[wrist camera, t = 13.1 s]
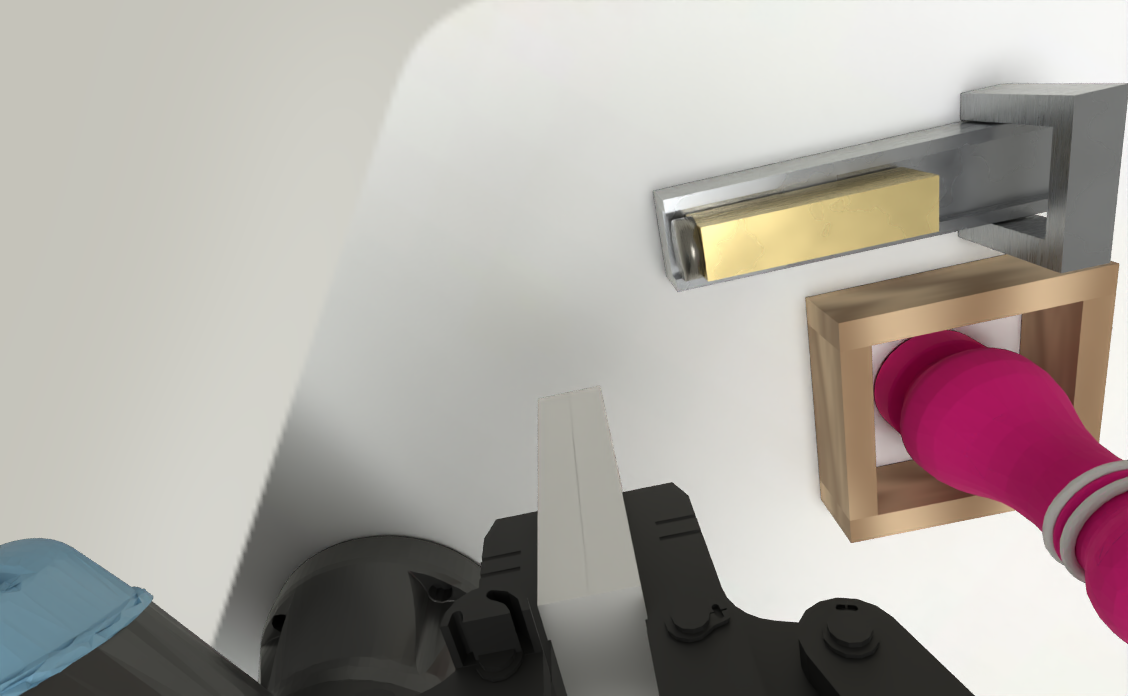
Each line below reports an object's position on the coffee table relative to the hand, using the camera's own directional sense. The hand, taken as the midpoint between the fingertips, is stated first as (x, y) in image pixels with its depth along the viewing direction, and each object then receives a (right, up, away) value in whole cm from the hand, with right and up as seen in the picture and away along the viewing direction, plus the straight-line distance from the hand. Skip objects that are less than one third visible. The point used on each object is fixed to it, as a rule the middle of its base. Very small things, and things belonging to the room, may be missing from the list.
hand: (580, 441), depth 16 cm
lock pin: (+10, +8, +15) cm, 20 cm away
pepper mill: (+20, 0, +21) cm, 29 cm away
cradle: (+20, 0, +21) cm, 29 cm away
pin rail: (+14, +10, +17) cm, 24 cm away
